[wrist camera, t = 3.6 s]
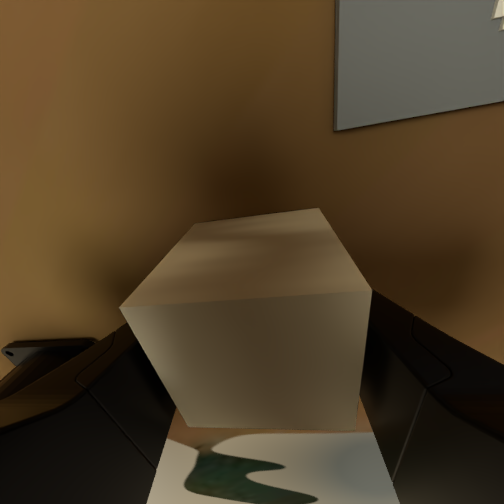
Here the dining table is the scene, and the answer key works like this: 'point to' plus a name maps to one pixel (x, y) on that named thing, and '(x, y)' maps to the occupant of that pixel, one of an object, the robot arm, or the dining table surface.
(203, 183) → the dining table surface
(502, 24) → the slate mat
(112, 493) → the robot arm
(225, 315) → the birch cube
